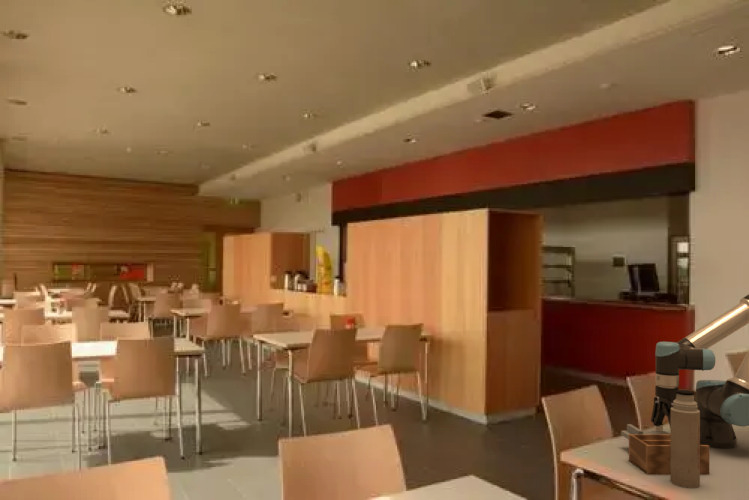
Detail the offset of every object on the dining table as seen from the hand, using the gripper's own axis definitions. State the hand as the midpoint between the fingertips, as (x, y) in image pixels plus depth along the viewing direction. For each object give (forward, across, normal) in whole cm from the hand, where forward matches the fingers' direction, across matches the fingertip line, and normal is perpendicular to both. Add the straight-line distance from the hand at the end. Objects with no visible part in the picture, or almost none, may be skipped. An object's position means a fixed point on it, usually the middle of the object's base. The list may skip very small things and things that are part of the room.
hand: (666, 448), depth 216 cm
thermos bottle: (+1, +30, -10) cm, 32 cm away
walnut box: (+1, +16, -8) cm, 18 cm away
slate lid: (-3, 0, -6) cm, 7 cm away
